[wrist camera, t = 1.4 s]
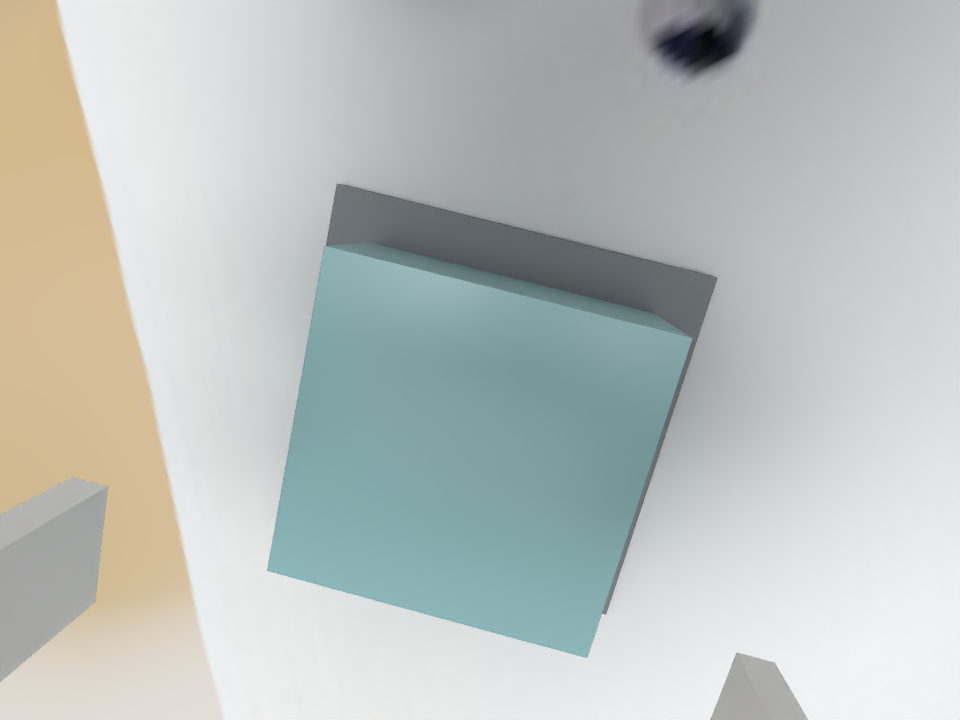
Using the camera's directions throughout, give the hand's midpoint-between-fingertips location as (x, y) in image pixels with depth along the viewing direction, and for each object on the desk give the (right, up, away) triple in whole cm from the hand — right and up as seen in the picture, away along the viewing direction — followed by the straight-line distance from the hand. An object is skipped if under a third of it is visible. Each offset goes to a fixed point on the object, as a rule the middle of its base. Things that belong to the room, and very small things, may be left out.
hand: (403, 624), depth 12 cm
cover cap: (+2, +3, +14) cm, 14 cm away
